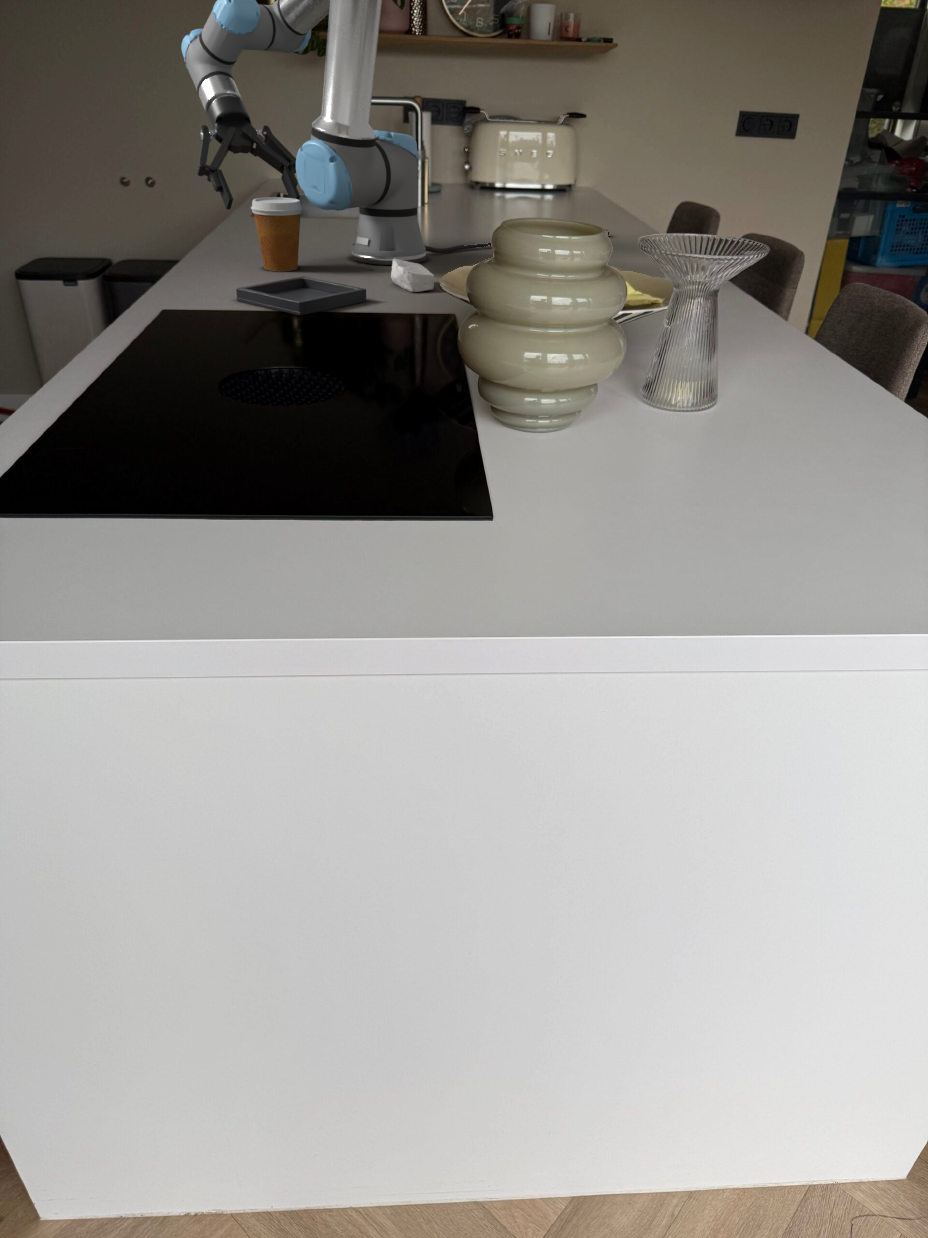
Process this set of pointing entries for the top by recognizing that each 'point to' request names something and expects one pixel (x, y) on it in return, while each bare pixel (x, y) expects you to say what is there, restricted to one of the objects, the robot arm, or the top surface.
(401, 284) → the white rock
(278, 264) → the disposable coffee cup
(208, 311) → the top surface
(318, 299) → the pad
